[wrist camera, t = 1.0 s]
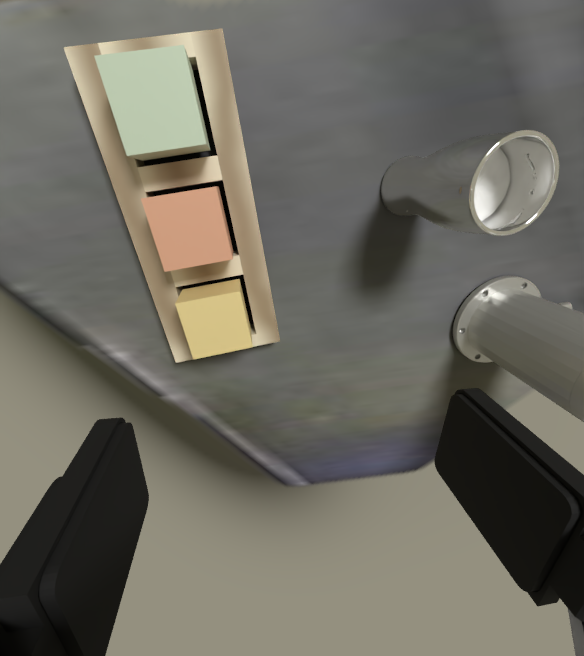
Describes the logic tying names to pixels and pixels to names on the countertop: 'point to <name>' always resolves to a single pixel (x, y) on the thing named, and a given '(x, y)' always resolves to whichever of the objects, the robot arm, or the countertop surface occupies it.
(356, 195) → the countertop surface
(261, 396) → the countertop surface
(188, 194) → the terracotta button
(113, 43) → the button board
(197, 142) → the sage button
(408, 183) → the beer glass
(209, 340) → the ochre button
